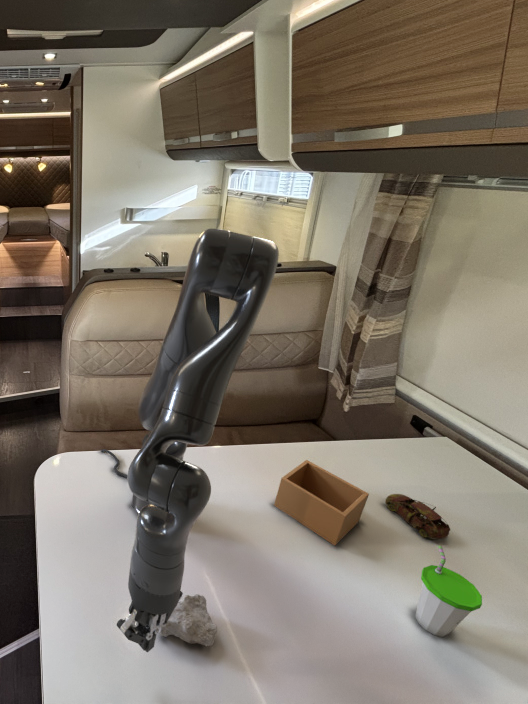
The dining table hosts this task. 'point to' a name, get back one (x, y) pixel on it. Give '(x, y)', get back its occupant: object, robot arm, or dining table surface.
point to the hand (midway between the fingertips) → (145, 644)
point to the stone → (191, 622)
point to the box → (321, 501)
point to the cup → (445, 599)
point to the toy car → (418, 516)
